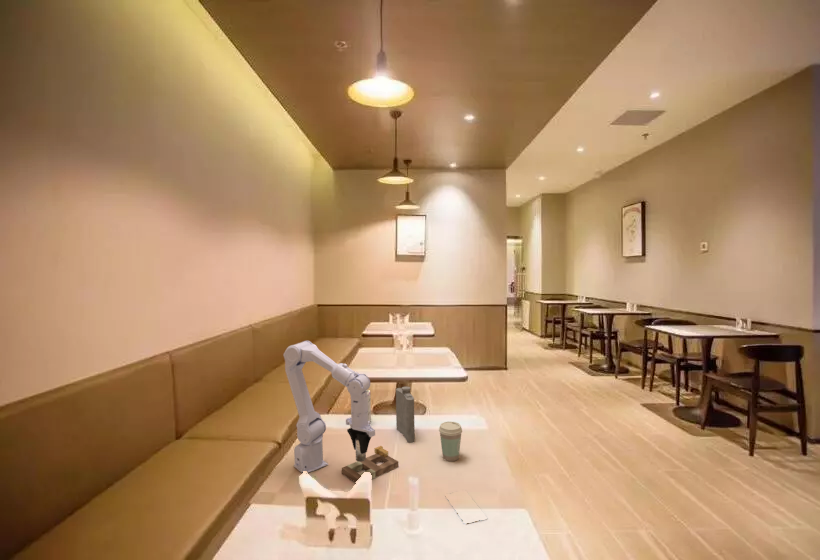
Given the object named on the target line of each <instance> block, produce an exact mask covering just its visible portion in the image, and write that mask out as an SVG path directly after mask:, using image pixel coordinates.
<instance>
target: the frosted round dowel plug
mask: <svg viewBox="0 0 820 560" xmlns="http://www.w3.org/2000/svg"><path fill="white" fill-rule="evenodd" d="M355 444H356V450H355V462H357V461H359V462H362V461H365V460H366V458H367V456H366V454H367V452H366V453H364V454H361V452H360V444H359V440H358V438H356V439H355Z"/></svg>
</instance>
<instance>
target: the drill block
mask: <svg viewBox="0 0 820 560" xmlns="http://www.w3.org/2000/svg"><path fill="white" fill-rule="evenodd" d="M380 462H381V464H378V463H380ZM397 468H399V461H398V460H397V459H394V458H393V457H392V456H390V455H388V456H387V457H383V456H381V455H379V454H375V453H374V454H372V455H370V456H366V460H365V461H362V462H359V461H355V462H352V463H350V464H347V465H345V466H343V467H341V474H342V475H343V476H344V477H346V478H348V479H349V480H350V481H352V482H353V483H355V482H356V481H357V480H358V479H359V478H360V477H361V475H362V474H363V473H364V472H370V473H371V475H372V479H371V480H373V479H376V478H377V477H379V476H382V475H384V474H386V473H388V472H390V471H393V470H394V469H397ZM360 471H363V472H360ZM359 472H360V473H359ZM355 484H356V483H355Z"/></svg>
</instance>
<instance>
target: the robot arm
mask: <svg viewBox="0 0 820 560" xmlns="http://www.w3.org/2000/svg"><path fill="white" fill-rule="evenodd" d="M282 355H283V358H284V371H285V374H286V378H287V380H288V381H287V382H288V384H289V387H290V390H291V393H292V397H293V400H294V404H295V406H296V409H297V414H298V416H299V417H298V420H297V421H296V425H295V426H296V429H297V431H296V432H297V433H296V436H297V440H298V441H299V444H297V445H295V446H294V448H293V451H294V452H293V454H294V457H293V459H294V460H293V461H294V464H293V467H294V468H295V469H297V470H298V471H299V472H301V473H302V472H303V471H307V472H308V473H312V472H314V471H316V470H319V469H322V468H324V467H326V466H328V465H329V464H328V462H326V461H325V460H324V454H323V453H324V450H323V443H324V442H323V439H324V437H323V436H324V434H325V433H326V430H327V424H326V421H324V420H323V418H322V416H321V414H320V413H319V412H317V411H316V410H315V408H314V404H313V402H312V398H311V395H310V392H309V388H308V386H307V382H306V379H305V375H304V373H303V368H304V366H305V364H306V363H309V362H313V363H315V364H317V365H318V366H320V367H321V368H324V369H325V370H327V371H329V372H330V373H331V377H332V378H333V379H335V380H336V381H337V382H339V383H340V384H342V385H343V386H344V387H346V388H347V392H348V393H349V396H350V415H351V417H347V418H345V425H346V426H349V428H347V429H346V430H347V431H346V432H347V434H348V435H349V437H350V439H351V443H352V446H353V447H352V448H353V449H354V450H355V451H356V444H355V439H356V438H358V440H359V444H360V452H361V454H364V453H366V454H367V452H368V448H369V445H370V441H371V439H372V438H373V437H375V436H376V429H375V428H374V427H372V425H371V423H372V421H371V422H370V421H368V390H369V388H370V387H371V380H370V377H368V375H367V374H366V373H359V372H358V371H356V370H353V369H352V368H350V367H349V366H348V364H346V363H343V362H339V363H336V361H334V360H333V359H332V358H330V357H329V356H328V355H327V354H325V353H324V352H322V351H321V350H320V349H319V348H318V346H317V345H316V344H314V343H312V341H310V340H303V341H301V342H297V343H295V344H291V345H289V346H288V347H286V349H285V351H284V352H283V354H282ZM366 390H367V391H366ZM308 473H307V474H308Z"/></svg>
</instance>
